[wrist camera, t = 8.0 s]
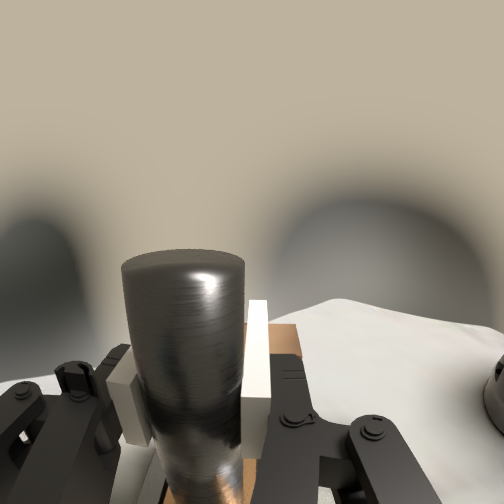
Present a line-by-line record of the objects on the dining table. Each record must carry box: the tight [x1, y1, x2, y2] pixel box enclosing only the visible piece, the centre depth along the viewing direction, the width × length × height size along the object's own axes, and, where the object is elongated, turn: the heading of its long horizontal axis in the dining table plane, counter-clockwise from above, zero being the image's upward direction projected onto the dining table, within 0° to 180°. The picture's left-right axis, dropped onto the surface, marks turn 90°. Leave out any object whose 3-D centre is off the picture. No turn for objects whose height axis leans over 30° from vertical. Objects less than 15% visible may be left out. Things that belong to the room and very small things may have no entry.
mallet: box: [121, 249, 256, 504], centre depth 15 cm, size 4×15×15 cm, turn 178°
